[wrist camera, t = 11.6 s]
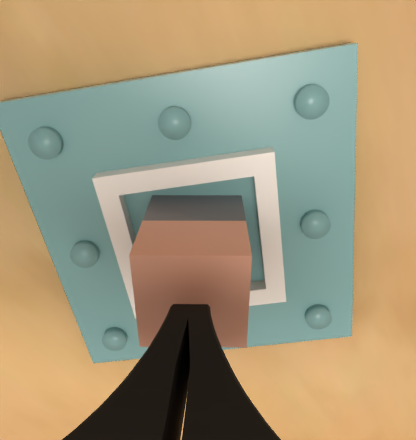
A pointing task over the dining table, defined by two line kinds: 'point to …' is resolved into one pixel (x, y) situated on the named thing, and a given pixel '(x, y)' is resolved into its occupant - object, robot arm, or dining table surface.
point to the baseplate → (200, 184)
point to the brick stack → (193, 263)
